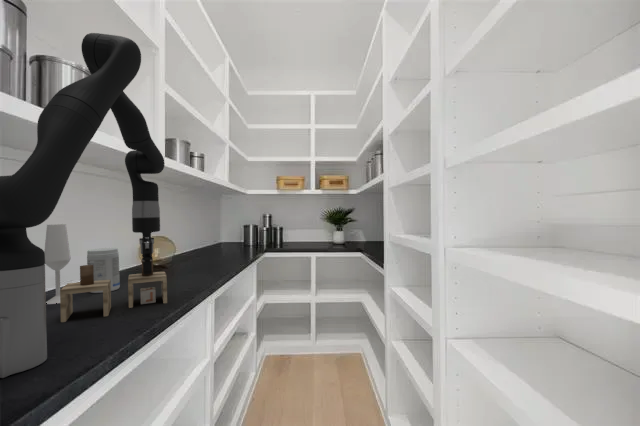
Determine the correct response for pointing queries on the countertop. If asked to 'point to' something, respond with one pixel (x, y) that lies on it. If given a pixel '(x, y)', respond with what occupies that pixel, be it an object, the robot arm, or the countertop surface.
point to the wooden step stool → (84, 286)
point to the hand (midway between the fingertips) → (147, 273)
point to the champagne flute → (56, 254)
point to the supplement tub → (105, 266)
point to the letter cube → (148, 295)
